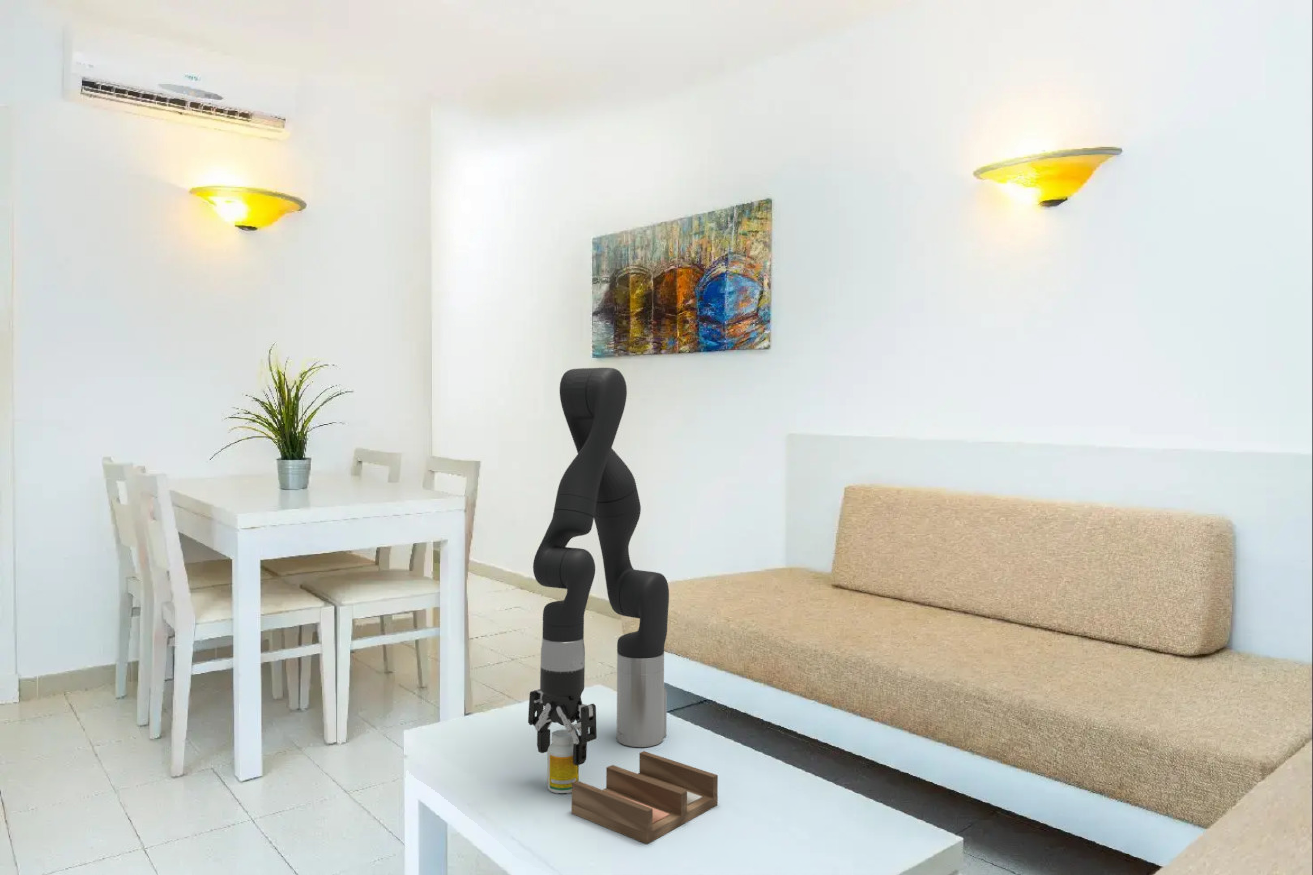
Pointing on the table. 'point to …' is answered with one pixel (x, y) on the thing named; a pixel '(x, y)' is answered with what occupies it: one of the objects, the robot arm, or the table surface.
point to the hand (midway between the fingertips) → (561, 757)
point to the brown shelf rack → (647, 797)
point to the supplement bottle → (561, 763)
